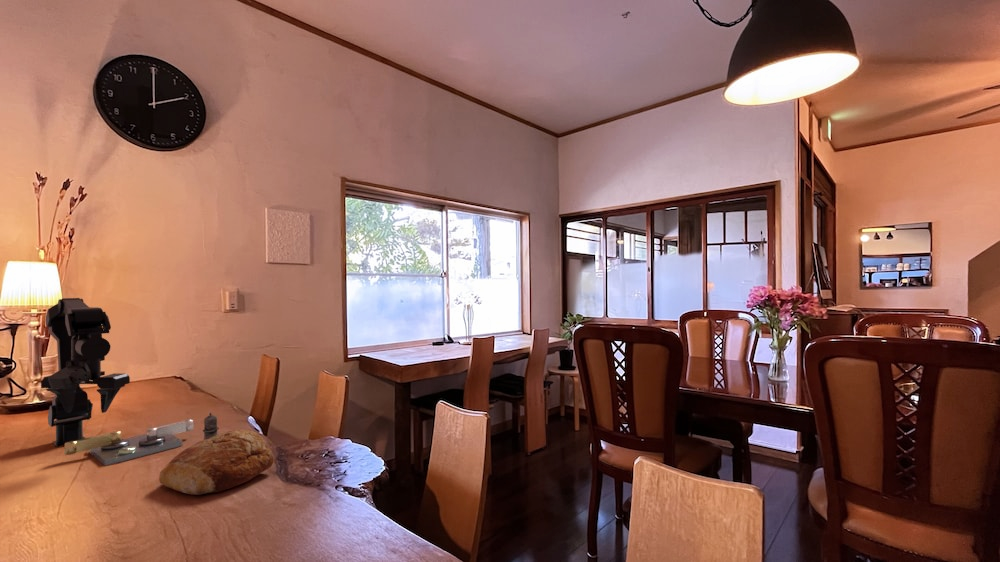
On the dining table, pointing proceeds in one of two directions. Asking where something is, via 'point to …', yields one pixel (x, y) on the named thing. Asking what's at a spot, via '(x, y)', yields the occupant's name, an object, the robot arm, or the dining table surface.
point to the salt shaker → (210, 426)
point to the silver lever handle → (165, 432)
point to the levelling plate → (134, 449)
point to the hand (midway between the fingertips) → (86, 412)
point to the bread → (218, 463)
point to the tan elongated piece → (96, 443)
